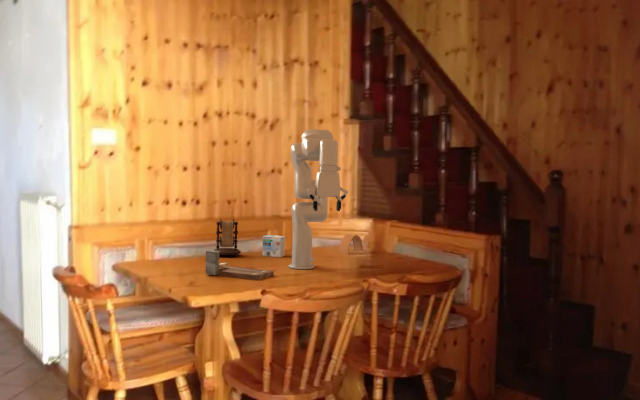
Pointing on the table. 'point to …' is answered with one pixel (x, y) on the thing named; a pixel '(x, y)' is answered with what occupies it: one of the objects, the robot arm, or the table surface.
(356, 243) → the arch
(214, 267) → the marking gauge
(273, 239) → the light bulb box
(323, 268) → the table surface
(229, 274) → the walnut board
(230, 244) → the brown wooden chair
